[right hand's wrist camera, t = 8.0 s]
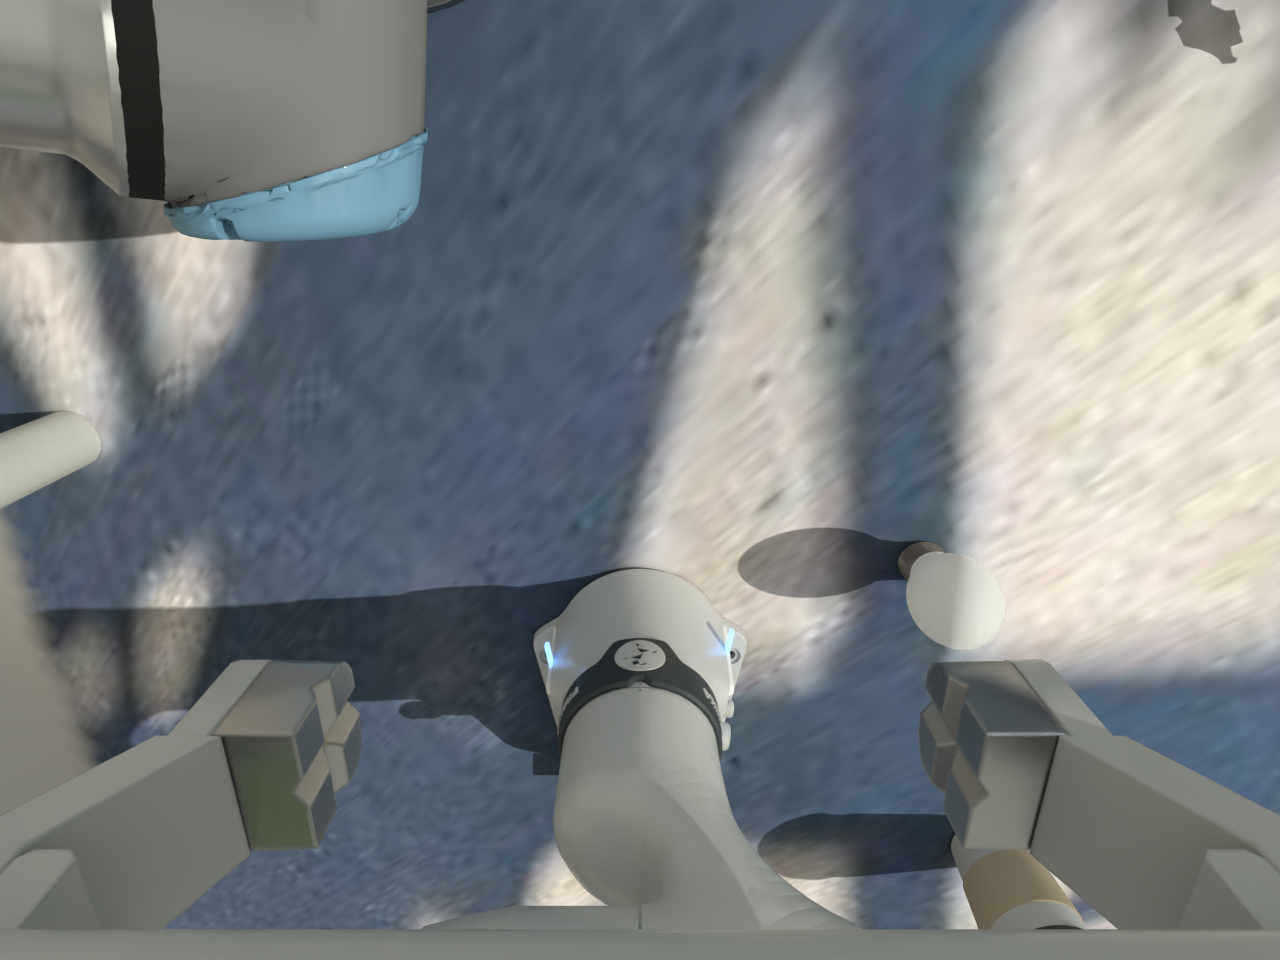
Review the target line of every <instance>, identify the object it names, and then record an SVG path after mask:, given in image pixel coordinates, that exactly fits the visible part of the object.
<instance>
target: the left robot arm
mask: <svg viewBox="0 0 1280 960" xmlns="http://www.w3.org/2000/svg"><path fill="white" fill-rule="evenodd" d="M462 1H464V0H0V147H5V148H14V149H22V150H31V151H40V152H48V153H57V154H66V155H68V156H69V157H71V158H73V159H75V160H77V161H79V162H80V163H82V164H83V165H84V166H86V167H87V168H88V169H89V170H90V171H91V172H93V173H94V174H95V175H96V176H97V177H98V178H100V179H101V180H102V181H103V182H104V183H105V184H107V185H108V186H109V187H110V188H111V189H112V190H114V191H115V192H116V193H117V194H118V195H119V196H123V197H132V198H142V199H153V200H163V201H167V202H168V203H167V204H164V213H165V215H166V216H167V217H168V218H169V219H170V221H171V224H172V226H173V227H174V228H175V229H176V230H178V231H179V232H180V233H182V234H184V235H187V236H191V237H196V238H202V239H210V240H220V239H229V240H235V239H238V240H244V241H256V242H275V241H307V240H323V239H336V238H346V237H355V236H363V235H369V234H374V233H379V232H383V231H387V230H390V229H393V228H395V227H397V226H399V225H401V224H403V223H404V222H405V221H407V220H408V219H409V218H410V216H411V215H412V214H413V213H414V211H415V209H416V207H417V204H418V201H419V196H420V184H421V171H422V159H423V146H424V144H425V143H426V141H427V137H428V129H427V128H424V125H425V79H426V33H427V12H433V11H438V10H442V9H445V8H449V7H451V6H454V5H456V4H458V3H460V2H462Z"/></svg>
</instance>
